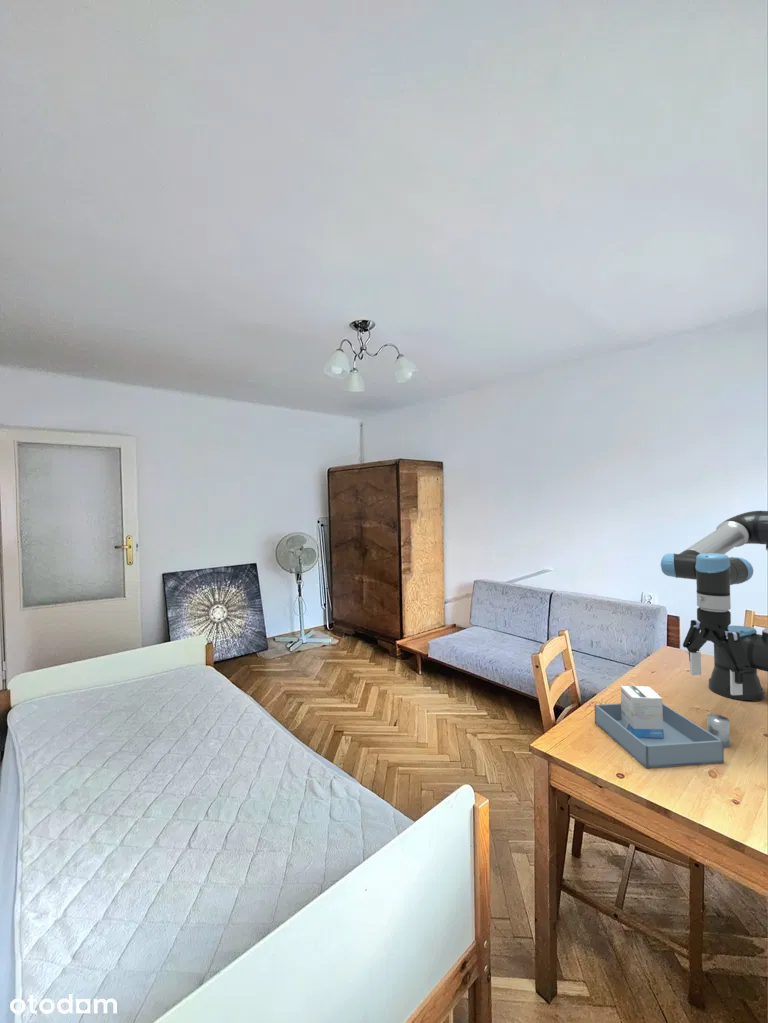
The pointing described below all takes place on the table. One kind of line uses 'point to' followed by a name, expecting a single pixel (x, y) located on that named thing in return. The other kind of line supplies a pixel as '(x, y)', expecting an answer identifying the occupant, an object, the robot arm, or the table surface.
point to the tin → (719, 728)
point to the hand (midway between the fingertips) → (715, 684)
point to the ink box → (642, 711)
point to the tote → (663, 739)
